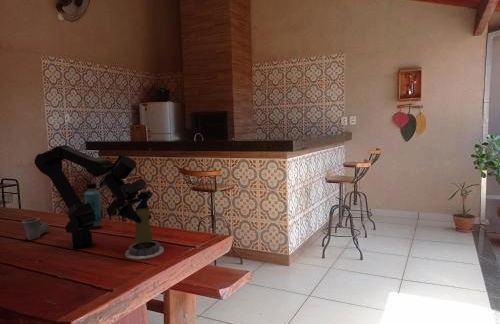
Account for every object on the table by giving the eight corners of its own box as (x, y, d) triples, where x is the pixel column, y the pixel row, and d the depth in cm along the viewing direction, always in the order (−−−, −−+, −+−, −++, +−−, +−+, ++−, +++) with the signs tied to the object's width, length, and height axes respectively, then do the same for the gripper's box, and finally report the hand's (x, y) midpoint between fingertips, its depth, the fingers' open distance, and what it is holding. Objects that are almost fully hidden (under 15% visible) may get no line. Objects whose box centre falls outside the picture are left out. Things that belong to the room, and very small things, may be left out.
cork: (131, 239, 132) (129, 209, 131) (147, 236, 136) (145, 206, 135) (139, 243, 128) (137, 212, 126) (155, 239, 132) (153, 209, 130)
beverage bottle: (86, 227, 168) (82, 182, 166) (102, 224, 171) (98, 181, 168) (86, 230, 162) (82, 185, 160) (103, 228, 165) (99, 183, 162)
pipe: (53, 232, 162) (51, 214, 161) (33, 241, 149) (31, 222, 148) (39, 232, 162) (37, 214, 161) (19, 242, 150) (17, 222, 149)
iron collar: (131, 262, 123) (130, 254, 123) (121, 251, 134) (120, 244, 134) (169, 253, 130) (168, 246, 130) (156, 244, 141) (156, 237, 141)
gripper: (111, 176, 122) (141, 212, 119) (147, 168, 139) (173, 199, 136) (94, 198, 126) (122, 233, 123) (131, 188, 143) (156, 219, 140)
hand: (145, 220), depth 130 cm, fingers closed on cork, 5 cm apart
